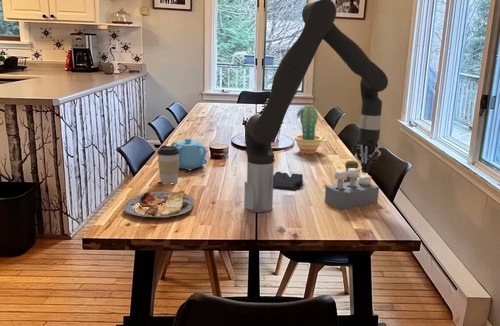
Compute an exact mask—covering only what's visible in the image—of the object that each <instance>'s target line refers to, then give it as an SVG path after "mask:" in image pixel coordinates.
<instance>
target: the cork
mask: <svg viewBox="0 0 500 326" xmlns="http://www.w3.org/2000/svg"><path fill="white" fill-rule="evenodd" d="M344 166H345V171H347V172H348V169H349V168H356V169H359V162H357V161H356V160H347V161H346V162H345V165H344ZM357 180H358V178H356V181H357ZM346 182H350V177H348V176H347V179H346V180H343V183H346Z"/></svg>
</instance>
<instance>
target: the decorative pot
mask: <svg viewBox="0 0 500 326" xmlns="http://www.w3.org/2000/svg"><path fill="white" fill-rule="evenodd" d="M170 146H174V147H176V148H177V149H178V150H179V152H180V153H179V169H183V170H184V169H186V170H188V169H193V170H194V169H197V168H200V166H201V167H202V166H204V165H205V164H207V163H208V160H207V157H206V155H207V148H206V147H205V146H204V145H202V143H201V142H200V141H199V140H192V138H191V137H190V138H189V137H187V138H186V137H185V138H184V140H181V141H173V142H172V143H171V145H170Z"/></svg>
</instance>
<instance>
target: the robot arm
mask: <svg viewBox="0 0 500 326" xmlns="http://www.w3.org/2000/svg"><path fill="white" fill-rule="evenodd" d="M301 17H302V21H303V23H304V27H303V29H302V31H301V33H300V35H299V36H298V38H297V39H296V40H295V42H293V44H292V45H291V46H290V47H289V49H288V50H287V51H286V53H284V55H283V57H282V59H281V61H280V62H279V65H278V67H277V68H276V70H275V73H274V74H273V79H272V84H271V89H270V93H269V99H268V101H267V103H266V105H265V107H264V109H263V110H262V113H256V114H253V115H251V116H250V118H249V119H248V120H247V121H246V125H245V152H246V156H247V160H246V161H247V165H246V167H247V168H246V171H247V172H246V174H247V175H246V181H244V201H243V203H244V205H243V207H244V208H245V209H246V210H248V211H250V212H251V213H266V212H271V210H273V202H274V201H273V199H274V189H273V176H274V175H275V173H274V169H275V153H274V151H273V148H272V142H274V141H275V139H276V138H277V136H278V135H279V132H280V129H281V127H282V124H283V122H284V118H285V116H286V114H287V111H288V110H289V107H290V106H291V104H292V101H293V99H294V98H295V95H296V93H297V91H298V90H299V87H300V86H301V84H302V83H303V80H304V79H305V76H306V74H307V72H308V70H309V68H310V66H311V63H312V61H313V59H314V58H315V55H316V53H317V51H318V48H319V46H320V45H321V43H322V41H323V40H324V42H325V43H326V44H328V45H329V47H330V48H331V49H332V50H334V52H335V53H336V54H337V55H338V56H339V58H341V60H342V61H343V62H344V64H345V65H346V66H347V67H348V68H349V69H350V71H351V72H352V73H354V74H355V75H357V76H359V77H360V78H361V79H360V86H359V87H360V88H359V89H360V96H361V112H360V117H359V118H360V119H359V127H358V137H357V139H358V140H359V141H358V144H355V145H353V150H354V152H355V154H356V156H357V157H356V158H357V159H358V160H359V161H361V173H363V174H369V172H370V171H371V170H370V169H371V164H372V163H374V164H375V163H376V161H377V160H379V158H380V157H381V156H382V154H383V150H382V151H380V150H379V144H378V141H379V140H380V137H381V126H382V109H383V102H382V100H381V98H379V93H380V92H381V93H382V92H384V91H385V90H386V89H387V87H388V84H389V79H388V76H387V75H386V72H384V70H382V69H381V68H380V67H379V66H378V65H377V64H376V63H375V62H373V60H371V59H370V58H369V56H368V55H367V54H366V53H365V52H364V50H363V49H362V48H361V47H360V45H358V44H357V43H356V42H355V41H354V40H352V39H351V38H350V37H349V36H347V35H346V34H345V33H344V32H342V31H341V30H340V28H339V27H338V26H337V25H335V23H334V22H335V20H336V17H337V7H336V5H335V3H334V2H333V1H332V0H310V1H309V2H307V3H306V4H305V5H304V6H303V8H302V12H301Z"/></svg>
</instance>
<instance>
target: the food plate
mask: <svg viewBox="0 0 500 326" xmlns="http://www.w3.org/2000/svg"><path fill="white" fill-rule="evenodd" d="M162 199H163V200H162ZM195 202H196V200H195V198H194V197H192V196H190V195H189V194H187V193H185V191H183V190H181V191H167V190H165V191H163V190H162V191H153V192H152V191H150V192H149V191H147V192H145V193H141V194H139V195H135V196H134V197H131V198H129V199H128V201H127V202H126V204H125V205H124V206H123V212H125V213H126V214H129V215H134V216H136V217H137V216H139V217H144V218H146V217H148V218H171V217H172V216H173V217H175V216H180V215H183V214H186V213H187V212H190V211H191V210H192V209H193V206H194V204H195ZM137 203H140V205H141V206H142V207H149V209H148V210H146V211H144V212H145V213H144V212H143V213H144V214H143V213H140V212H139V213H140V214H139V213H137V212H136V211H135V207H134V209H133V207H132V206H134V205H135V204H137ZM161 203H165V205H164V207H163V210H162V213H161V212H160V215H157V214H158V213H157V211H158V206H156V205H160V204H161ZM137 205H138V204H137ZM161 205H162V204H161ZM135 206H136V205H135ZM156 213H157V214H156ZM145 214H148V215H145ZM155 214H156V215H155ZM149 215H150V216H149ZM151 215H155V216H151ZM170 216H171V217H170Z"/></svg>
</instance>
